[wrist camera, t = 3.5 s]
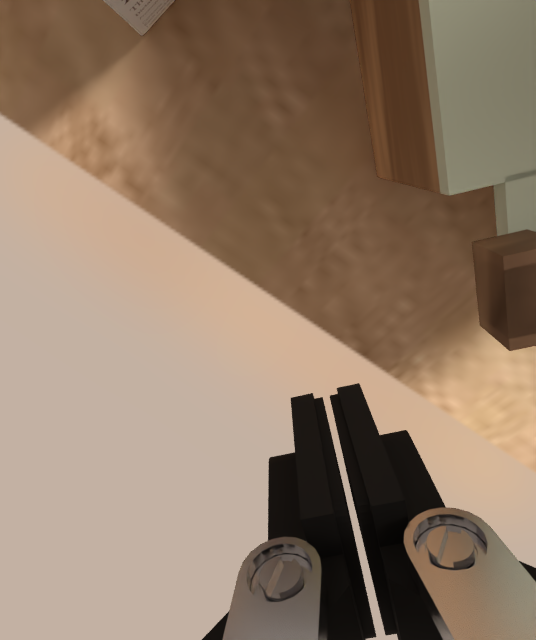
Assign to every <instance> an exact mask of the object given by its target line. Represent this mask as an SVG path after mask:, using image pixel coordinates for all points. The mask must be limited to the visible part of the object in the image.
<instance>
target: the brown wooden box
mask: <svg viewBox="0 0 536 640" xmlns="http://www.w3.org/2000/svg"><path fill="white" fill-rule="evenodd" d="M350 5H351V11H352V18H353V24H354V30H355V37H356V43H357V50H358V56H359V62H360V69H361V75H362V82H363V88H364V94H365V101H366V107H367V114H368V120H369V126H370V133H371V139H372V146H373V152H374V158H375V165H376V171H377V177H379V178H383V179H387V180H391V181H395V182H398V183H402V184H406V185H410V186H414V187H418V188H422V189H425V190H429V191H433V192H437V193H440V185H439V177H438V168H437V159H436V150H435V141H434V132H433V123H432V114H431V106H430V97H429V88H428V79H427V70H426V61H425V52H424V44H423V35H422V26H421V17H420V8H419V0H350Z"/></svg>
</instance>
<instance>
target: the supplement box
mask: <svg viewBox="0 0 536 640" xmlns="http://www.w3.org/2000/svg"><path fill="white" fill-rule="evenodd" d="M103 1H104V2H105V3H106V4H107V5H109V6H110V7H111V8H112V9H113V10H114V11H115V12H116V13H117V14H118V15H119V16H121V17H122V18H123V19H124V20H125V21H126V22H127V23H128V24H129V25H130V26H131V27H132V28H133V29H134V30H135V31H136V32H138V33H139V34H140V35H142V36H143V35H144V34H145V33H146V32H147V31H148V30H149V29H150V28H151V26H152V25H153V24H154V23H155V22H156V21H157V20H158V19H159V18H160V16H161V15H162V14H163V13H164V12H165V11H166V10H167V9H168V8H169V7H170V5H171V4H172V3H173V2H174V1H175V0H103Z"/></svg>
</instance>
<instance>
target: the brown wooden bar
mask: <svg viewBox="0 0 536 640" xmlns="http://www.w3.org/2000/svg"><path fill="white" fill-rule="evenodd" d="M472 247H473V258H474V269H475V280H476V290H477V301H478V312H479V322H480V326H481V327H482V328H484V329H485V330H486V331H487V332H488V333H489V334H491V335H492V336H493V337H494V338H495V339H496V340H498V341H499V342H500V343H501V344H502V345H503V346H504V347H506V348H507V349H508V350H509V351H512V350H517V349H522V348H527V347H532V346H536V232H534V231H531V230H528V229H526V230H522V231H518V232H513V233H509V234H505V235H500V236H496V237H492V238H487V239H483V240H479V241H474V242H472Z"/></svg>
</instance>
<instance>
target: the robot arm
mask: <svg viewBox="0 0 536 640" xmlns="http://www.w3.org/2000/svg"><path fill="white" fill-rule="evenodd" d="M337 391H338V394H335V395H331V396H330V400H331V404H332V408H333V413H334V417H335V422H336V426H337V431H338V435H339V440H340V444H341V449H342V453H343V458H344V462H345V466H346V471H347V475H348V480H349V484H350V488H351V492H352V497H353V501H354V506H355V510H356V514H357V518H358V522H359V526H360V531H361V534H362V538H363V543H364V547H365V551H366V556H367V560H368V564H369V568H370V572H371V576H372V580H373V584H374V588H375V593H376V597H377V601H378V605H379V610H380V614H381V618H382V622H383V626H384V630H385V634H386V635H391V634H397V636H398V640H536V568H534V567H532V566H530V565H527V564H525V563H522V562H520V561H518V560H517V559H516V557H515V556H514V555H513V554H512V553H511V551H510V550H509V549H508V548H507V546H506V545H505V544H504V543H503V542H502V540H501V539H500V538H499V537H498V535H497V534H496V533H495V532H494V531H493V529H492V528H491V527H490V526H489V525H488V524H487V523H485V522H484V521H483V520H482V519H481V518H479V517H477V516H475V515H473V514H472V513H470V512H467V511H464V510H460V509H456V508H446V507H445V505H444V503H443V501H442V499H441V497H440V495H439V493H438V491H437V489H436V487H435V485H434V483H433V481H432V479H431V477H430V475H429V473H428V471H427V469H426V467H425V465H424V463H423V461H422V459H421V457H420V455H419V454H418V451H417V449H416V447H415V445H414V443H413V441H412V439H411V437H410V435H409V433H408V432H407V431H406V430H404V431H399V432H394V433H389V434H384V435H379V433H378V430H377V427H376V425H375V422H374V420H373V418H372V415H371V412H370V410H369V407H368V405H367V402H366V399H365V397H364V394H363V392H362V389H361V387H360V384H359V383H358V384H354V385H350V386H344V387H339V388H337ZM291 407H292V419H293V432H294V444H295V453H290V454H285V455H281V456H275V457H270V459H269V498H268V541H267V542H265V543H262V544H260V545H259V546H258V547H257V548H255V549H254V550H253V551H251V552H250V554H249V555H248V556H247V558H246V559H245V560H244V562H243V564H242V566H241V568H240V571H239V574H238V577H237V581H236V586H235V590H234V594H233V598H232V602H231V606H230V610H229V612H228V613H227V614H226V615H225V616H224V617H223V618H222V619H221V620H220V621H219V622H218V623H217V624H216V626H215V627H214V628H213V629H212V630H211V631H210V632H209V633H208V634H207V635H206V636H205V637H204V638H203V639H202V640H365V639H367V638H373V637H376V633H375V628H374V624H373V619H372V615H371V610H370V606H369V601H368V596H367V592H366V587H365V583H364V578H363V574H362V569H361V565H360V560H359V556H358V551H357V547H356V542H355V537H354V533H353V529H352V524H351V520H350V515H349V510H348V506H347V502H346V497H345V492H344V488H343V483H342V479H341V475H340V470H339V466H338V462H337V457H336V453H335V449H334V445H333V440H332V436H331V432H330V427H329V423H328V419H327V414H326V411H325V406H324V402H323V398H322V397H321V398H316V399H314V396H313V393H311V394H307V395H302V396H298V397H293V398H291Z"/></svg>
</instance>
